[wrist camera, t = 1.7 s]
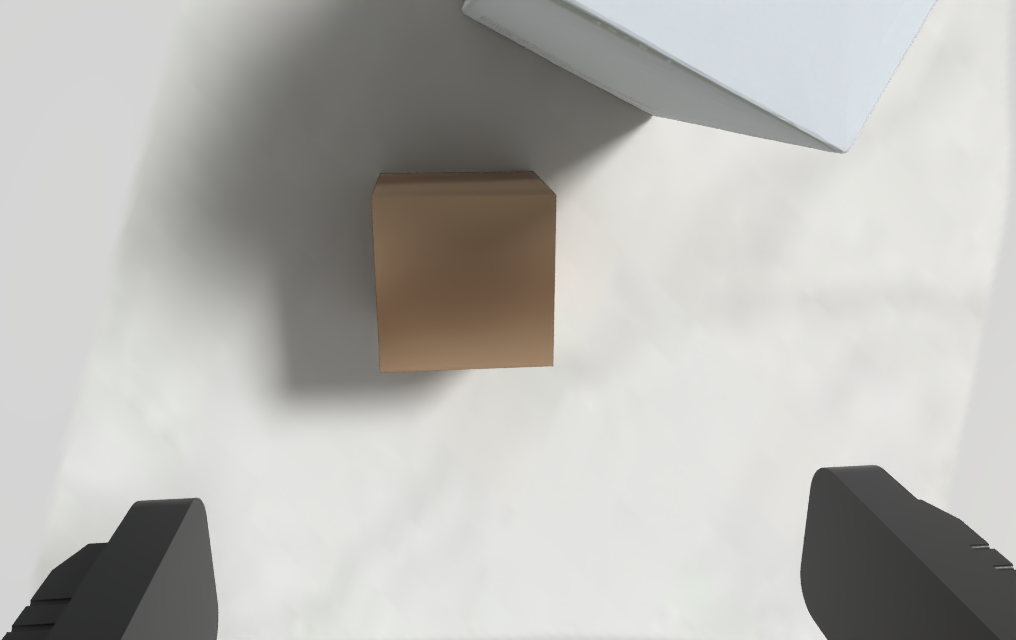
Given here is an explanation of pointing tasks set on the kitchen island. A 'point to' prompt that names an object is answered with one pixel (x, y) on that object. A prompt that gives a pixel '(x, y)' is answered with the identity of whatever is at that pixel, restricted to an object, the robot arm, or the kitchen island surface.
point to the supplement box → (726, 57)
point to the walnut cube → (464, 270)
